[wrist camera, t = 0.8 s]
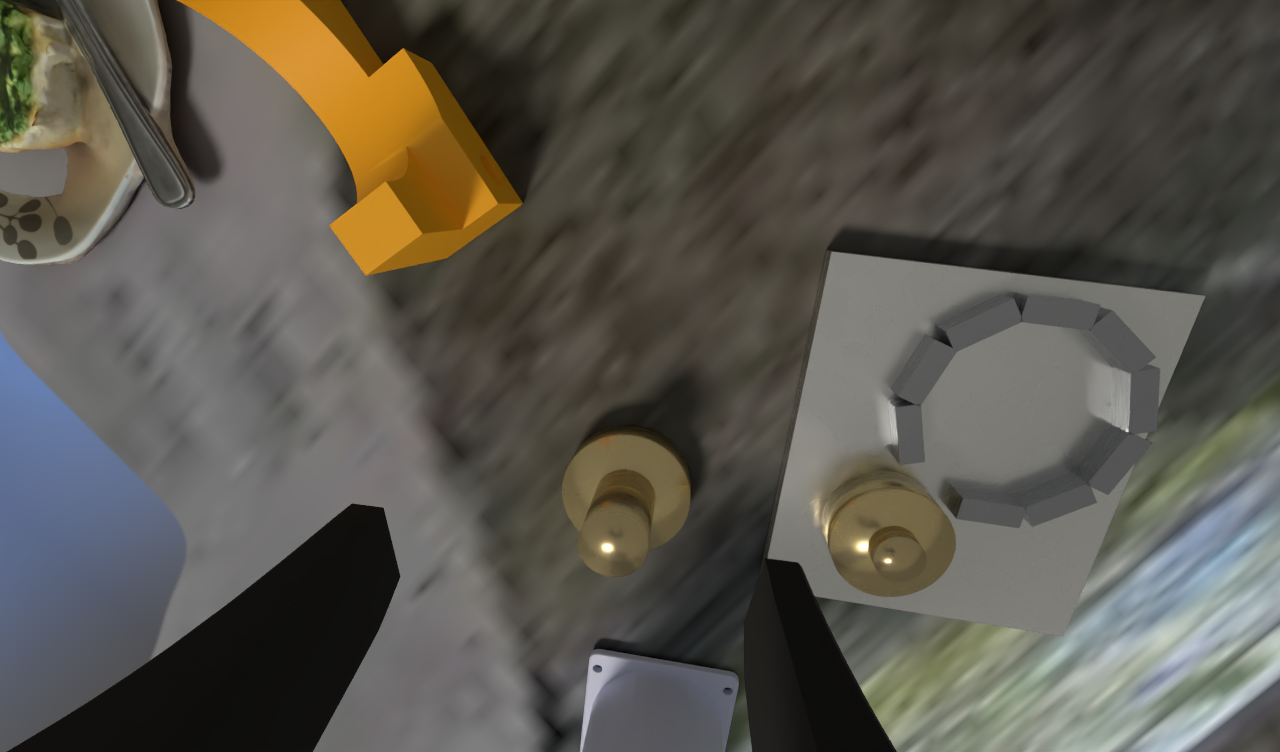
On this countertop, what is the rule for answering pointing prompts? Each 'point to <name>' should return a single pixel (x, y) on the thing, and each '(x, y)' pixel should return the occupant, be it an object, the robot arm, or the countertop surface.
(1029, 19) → the countertop surface
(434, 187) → the pipe clamp
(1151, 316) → the carrier
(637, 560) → the flanged cylinder knob
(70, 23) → the salad plate
